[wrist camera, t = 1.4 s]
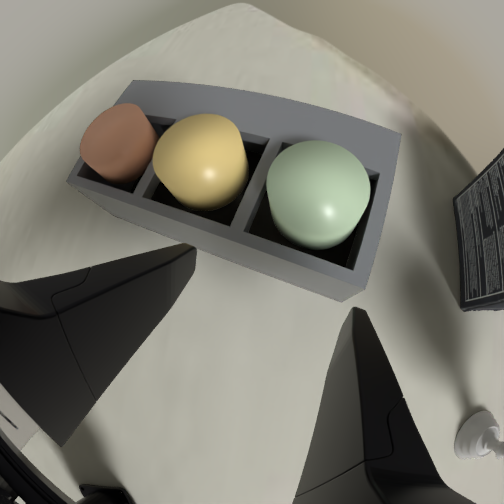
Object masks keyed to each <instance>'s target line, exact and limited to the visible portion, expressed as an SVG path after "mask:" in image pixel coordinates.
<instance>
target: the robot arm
mask: <svg viewBox="0 0 504 504" xmlns="http://www.w3.org/2000/svg"><path fill="white" fill-rule="evenodd" d="M196 254H197V249H196V247H195V246H192V245H190V244H187V243H182V244H178V245H174V246H170V247H165V248H161V249H157V250H153V251H149V252H145V253H141V254H137V255H134V256H130V257H126V258H122V259H118V260H114V261H110V262H106V263H103V264H99V265H95V266H92V267H87V268H84V269H80V270H76V271H72V272H68V273H63V274H59V275H54V276H49V277H44V278H39V279H33V280H28V281H23V282H17V283H9V282H3V281H0V504H19V503H17V502H16V501H15V499H16V498H17V497H18V496H20V497H21V499H22V500H23V501H24V502H25V503H26V504H132V502H131V500H130V498H129V496H128V494H127V493H126V491H125V490H124V489H123V488H117V487H104V486H94V485H86V484H81V485H80V486H79V489H80V491H81V492H82V494H83V496H84V498H82V499H81V500H79V501H77V502H74V501H73V500H72V499H71V498H69V497H68V496H67V495H66V494H65V493H63V492H62V491H61V490H60V489H59V488H58V487H56V486H55V485H54V484H53V483H52V482H51V481H50V480H49V479H48V478H46V477H45V476H44V475H43V474H42V473H41V472H40V471H39V470H38V469H37V468H36V467H35V466H34V465H33V464H32V463H31V462H30V461H29V460H28V459H27V458H26V457H25V456H24V455H23V454H22V452H21V450H22V448H23V447H24V446H25V445H26V444H27V442H28V441H29V440H30V439H31V438H32V437H33V435H34V434H35V433H36V432H37V431H38V430H39V429H40V428H41V429H42V430H43V431H44V432H46V433H47V434H48V435H49V436H50V437H51V438H52V439H53V440H54V441H55V442H56V443H57V444H59V445H60V446H61V447H62V446H63V445H64V444H65V443H66V441H67V440H68V439H69V437H70V436H71V435H72V433H73V432H74V431H75V429H76V428H77V427H78V425H79V424H80V423H81V421H82V420H83V419H84V417H85V416H86V415H87V414H88V412H89V411H90V410H91V408H92V407H93V406H94V404H95V403H96V401H97V400H98V399H99V398H100V396H101V395H102V394H103V393H104V391H105V390H106V389H107V387H108V386H109V385H110V384H111V382H112V381H113V380H114V379H115V377H116V376H117V375H118V373H119V372H120V371H121V370H122V368H123V367H124V366H125V365H126V363H127V362H128V361H129V360H130V358H131V357H132V356H133V355H134V353H135V352H136V351H137V350H138V348H139V347H140V346H141V345H142V343H143V342H144V341H145V340H146V338H147V337H148V336H149V335H150V333H151V332H152V331H153V330H154V329H155V327H156V326H157V325H158V324H159V322H160V321H161V320H162V319H163V318H164V316H165V315H166V314H167V313H168V311H169V310H170V309H171V307H172V306H173V304H174V303H175V301H176V300H177V298H178V297H179V295H180V294H181V292H182V291H183V289H184V287H185V286H186V284H187V283H188V281H189V280H190V278H191V277H192V275H193V273H194V271H195V266H196ZM120 491H121V492H122V493H121V492H120ZM295 497H296V498H294V500H293V503H292V504H476V503H474V502H472V501H471V500H469V499H467V498H466V497H464V496H462V495H460V494H459V493H457V492H455V491H454V490H452V489H451V488H450V487H448V486H447V485H446V484H445V483H444V481H443V480H442V479H441V477H440V476H439V474H438V472H437V470H436V467H435V465H434V463H433V461H432V459H431V457H430V455H429V452H428V450H427V448H426V446H425V444H424V442H423V440H422V438H421V436H420V434H419V431H418V429H417V427H416V425H415V423H414V420H413V418H412V416H411V413H410V411H409V408H408V406H407V403H406V401H405V398H403V393H402V391H401V389H400V386H399V384H398V381H397V379H396V376H395V374H394V372H393V369H392V367H391V365H390V362H389V360H388V358H387V356H386V353H385V351H384V349H383V347H382V344H381V342H380V340H379V338H378V336H377V333H376V331H375V329H374V327H373V325H372V323H371V321H370V318H369V316H368V314H367V312H366V311H365V310H363V309H360V308H358V307H353V308H352V309H351V310H350V312H349V314H348V316H347V318H346V320H345V322H344V323H343V325H342V328H341V330H340V333H339V337H338V340H337V343H336V346H335V350H334V353H333V356H332V359H331V362H330V365H329V368H328V372H327V376H326V380H325V385H324V390H323V394H322V399H321V403H320V408H319V412H318V416H317V420H316V424H315V428H314V432H313V436H312V440H311V444H310V448H309V451H308V455H307V459H306V462H305V466H304V469H303V472H302V476H301V479H300V482H299V485H298V489H297V492H296V495H295Z"/></svg>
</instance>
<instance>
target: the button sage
mask: <svg viewBox="0 0 504 504" xmlns="http://www.w3.org/2000/svg"><path fill="white" fill-rule="evenodd" d="M266 185H267V193H268V198H269V204H270V209H271V214H272V219H273V221H274V224H275V226H276V227H277V229H278V231H279V232H280V233H281V234H282V235H283V236H284V237H285V238H286V239H287V240H288V241H290V242H291V243H293V244H295V245H297V246H299V247H302V248H305V249H311V250H323V249H328V248H331V247H334V246H336V245H338V244H340V243H342V242H343V241H344V240H346V239H347V238H348V237H349V235H350V234H351V233H352V231H353V230H354V228H355V226H356V225H357V223H358V221H359V219H360V218H361V216H362V214H363V212H364V211H365V209H366V207H367V204H368V202H369V197H370V182H369V178H368V175H367V172H366V170H365V168H364V167H363V165H362V164H361V162H360V161H359V160H358V159H357V158H356V157H355V156H354V155H353V154H352V153H351V152H349V151H348V150H346V149H345V148H343V147H341V146H339V145H337V144H334V143H330V142H327V141H317V140H312V141H304V142H300V143H297V144H294V145H292V146H290V147H288V148H287V149H285V150H284V151H282V152H281V153H280V154H279V155H278V156H277V157H276V158H275V160H274V161H273V162H272V164H271V166H270V168H269V171H268V175H267V184H266Z"/></svg>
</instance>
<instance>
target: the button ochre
mask: <svg viewBox="0 0 504 504" xmlns="http://www.w3.org/2000/svg"><path fill="white" fill-rule="evenodd" d="M153 168H154V171H155V173H156V175H157V177H158V178H159V179H160V180H161V181H162V183H163V184H164V185H165V186H166V187H167V188H168V190H169V191H170V192H171V193H172V194H173V195H174V197H175V198H176V199H177V200H178V201H179V202H180V203H181V204H182V205H183V206H185V207H187V208H189V209H191V210H195V211H212V210H216V209H219V208H222V207H224V206H226V205H228V204H229V203H231V202H232V201H233V200H235V199H236V198H237V197H238V196H239V195H240V193H241V192H242V191H243V189H244V187H245V186H246V183H247V181H248V177H249V165H248V161H247V157H246V153H245V150H244V146H243V142H242V139H241V135H240V132H239V130H238V128H237V127H236V126H235V124H234V123H233V122H231V121H230V120H229V119H227V118H225V117H223V116H220V115H216V114H198V115H193V116H190V117H187V118H185V119H182V120H181V121H179V122H177V123H175V124H174V125H173V126H171V127H170V128H169V129H168V130H167V131H166V132H165V133H164V134H163V135H162V136H161V138H160V139H159V141H158V143H157V145H156V147H155V149H154V153H153Z"/></svg>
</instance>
